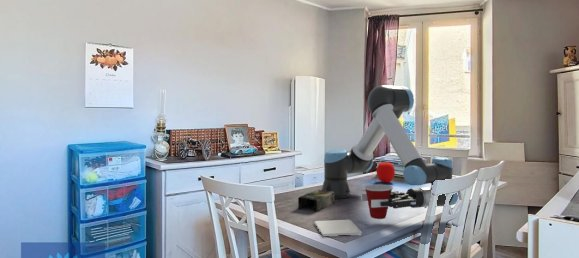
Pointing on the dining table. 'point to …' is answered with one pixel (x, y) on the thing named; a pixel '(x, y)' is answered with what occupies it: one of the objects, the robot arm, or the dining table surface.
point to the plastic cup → (374, 194)
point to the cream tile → (337, 228)
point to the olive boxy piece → (317, 199)
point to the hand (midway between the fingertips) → (366, 200)
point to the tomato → (385, 172)
